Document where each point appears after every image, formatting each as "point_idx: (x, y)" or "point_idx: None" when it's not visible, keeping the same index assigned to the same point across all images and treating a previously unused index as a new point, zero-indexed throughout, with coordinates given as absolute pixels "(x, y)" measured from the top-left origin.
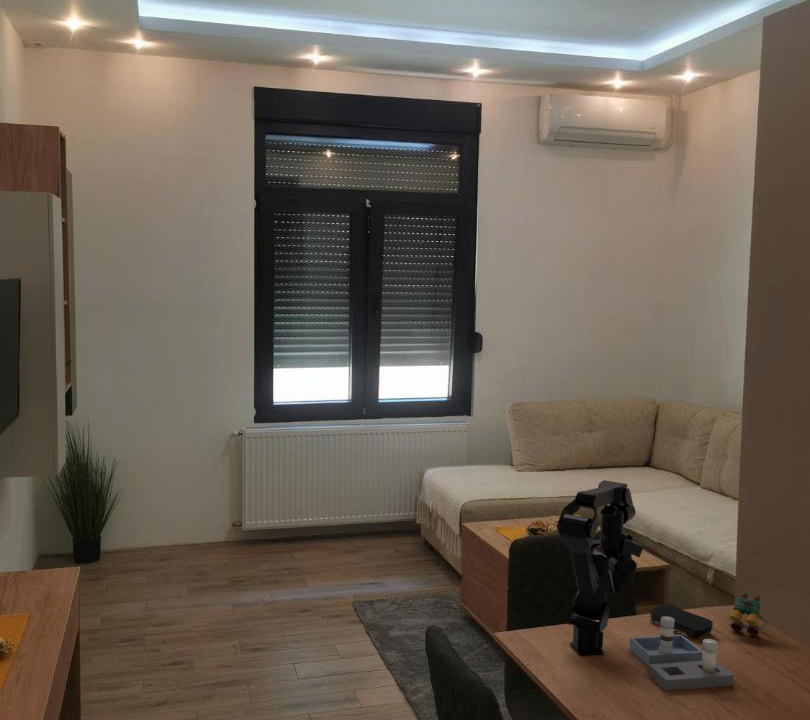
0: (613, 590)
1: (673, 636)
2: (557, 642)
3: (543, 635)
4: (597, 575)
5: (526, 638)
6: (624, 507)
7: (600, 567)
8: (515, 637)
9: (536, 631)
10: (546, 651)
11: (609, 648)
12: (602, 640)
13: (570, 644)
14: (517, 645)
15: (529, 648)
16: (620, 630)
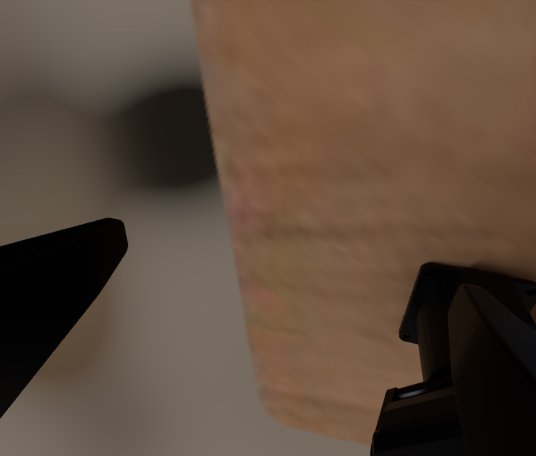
0: (452, 346)
1: None
2: (363, 349)
3: (301, 352)
4: (90, 294)
5: (309, 393)
6: None
7: (8, 334)
8: (296, 408)
9: (269, 351)
10: None
11: (499, 227)
12: (524, 303)
13: (408, 340)
14: (345, 429)
15: (374, 420)
16: (337, 57)
